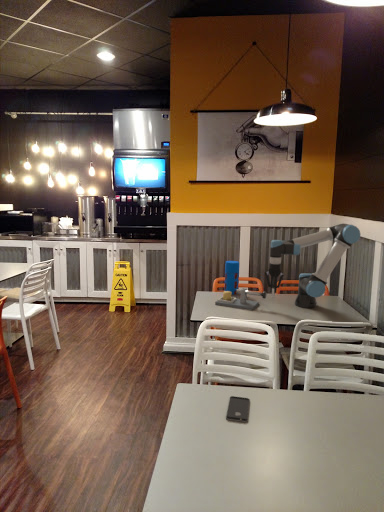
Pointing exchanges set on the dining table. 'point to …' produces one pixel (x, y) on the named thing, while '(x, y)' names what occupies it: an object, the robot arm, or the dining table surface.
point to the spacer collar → (227, 295)
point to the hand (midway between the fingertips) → (273, 297)
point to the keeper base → (238, 302)
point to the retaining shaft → (254, 293)
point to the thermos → (231, 276)
